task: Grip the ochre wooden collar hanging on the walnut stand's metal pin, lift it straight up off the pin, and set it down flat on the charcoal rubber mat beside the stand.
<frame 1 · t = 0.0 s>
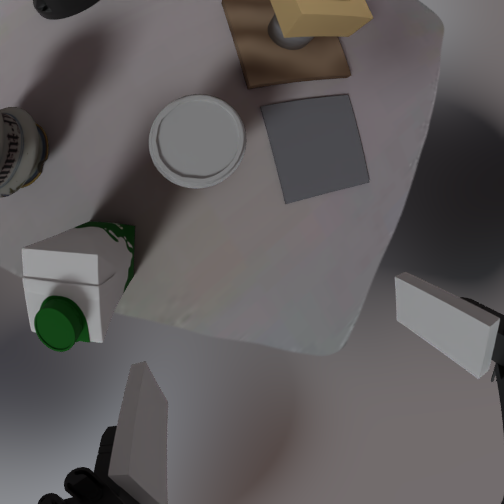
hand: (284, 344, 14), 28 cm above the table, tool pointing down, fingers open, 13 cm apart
mat: (318, 145, 40), on the table
collar: (307, 8, 27), point 9 cm above the table, touching stand
stand: (285, 36, 35), on the table
milk carton: (111, 249, 38), on the table
disposable coffee cup: (195, 151, 37), on the table
apothecary jar: (23, 154, 32), on the table
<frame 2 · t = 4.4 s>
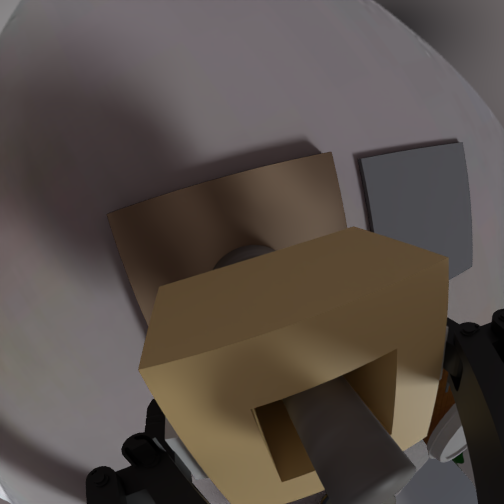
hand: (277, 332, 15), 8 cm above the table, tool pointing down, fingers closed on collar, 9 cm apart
mat: (427, 221, 25), on the table
collar: (283, 342, 14), point 9 cm above the table, touching gripper, stand
stand: (248, 282, 22), on the table
milk carton: (443, 410, 34), on the table
disposable coffee cup: (407, 369, 29), on the table
apothecary jar: (347, 491, 35), on the table
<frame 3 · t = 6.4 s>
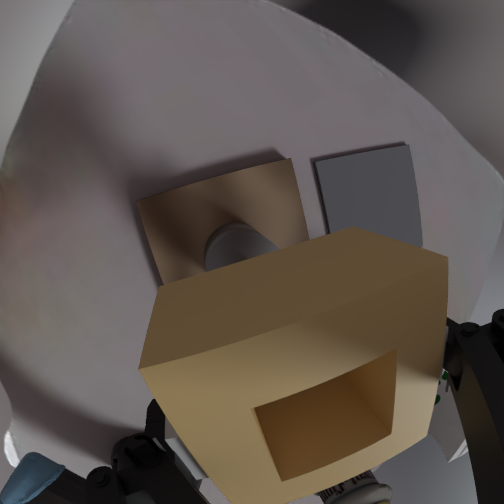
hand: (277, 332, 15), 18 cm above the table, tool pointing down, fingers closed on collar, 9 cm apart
mat: (375, 208, 34), on the table
collar: (283, 342, 14), point 19 cm above the table, touching gripper
stand: (233, 250, 32), on the table
milk carton: (412, 378, 44), on the table
apothecary jar: (328, 452, 44), on the table
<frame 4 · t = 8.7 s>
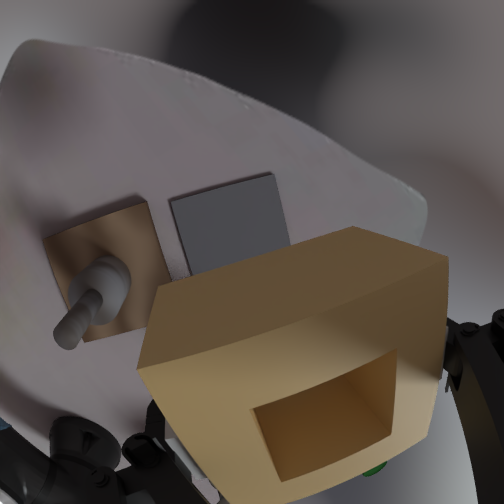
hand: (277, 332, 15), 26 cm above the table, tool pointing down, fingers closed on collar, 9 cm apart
mat: (236, 237, 40), on the table
collar: (283, 342, 14), point 27 cm above the table, touching gripper
stand: (111, 275, 37), on the table
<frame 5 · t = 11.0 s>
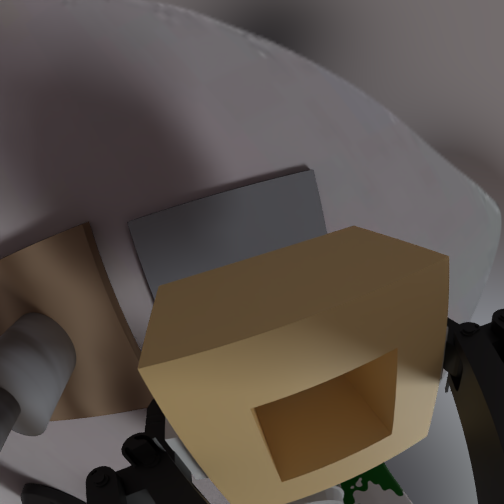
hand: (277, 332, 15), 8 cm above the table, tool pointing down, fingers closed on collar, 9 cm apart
mat: (246, 282, 23), on the table
collar: (283, 341, 14), point 9 cm above the table, touching gripper
stand: (49, 339, 20), on the table
milk carton: (344, 465, 32), on the table
disposable coffee cup: (260, 432, 27), on the table
when the fingers open (2 cm above the table, at t = 13.2 s): collar drops 2 cm, resting on mat.
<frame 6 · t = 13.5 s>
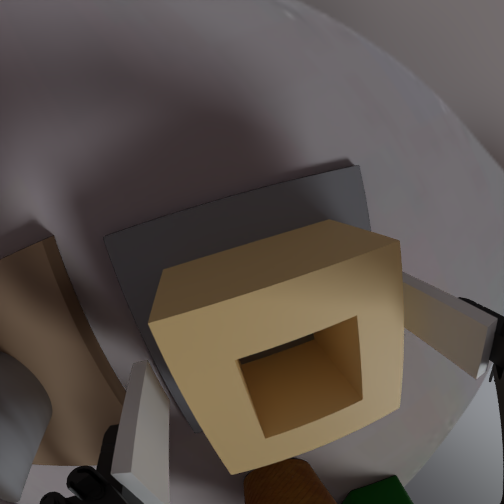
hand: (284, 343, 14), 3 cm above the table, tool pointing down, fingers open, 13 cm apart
mat: (268, 316, 17), on the table
collar: (269, 320, 16), resting on mat
stand: (21, 379, 14), on the table
milk carton: (363, 495, 26), on the table
disposable coffee cup: (276, 475, 21), on the table
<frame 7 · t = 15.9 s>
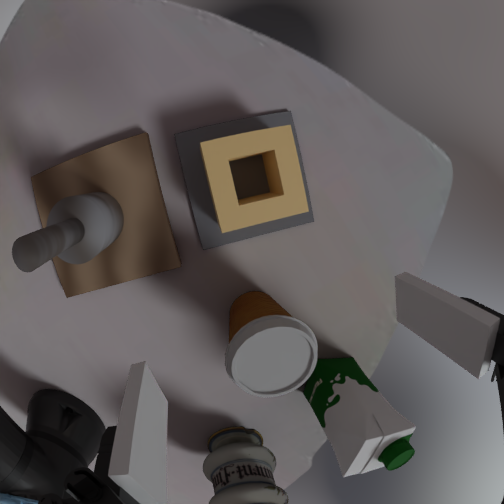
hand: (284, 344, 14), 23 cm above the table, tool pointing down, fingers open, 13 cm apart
mat: (246, 177, 34), on the table
collar: (246, 177, 34), resting on mat
stand: (102, 218, 32), on the table
milk carton: (327, 374, 44), on the table
disposable coffee cup: (253, 312, 39), on the table
apothecary jar: (235, 442, 45), on the table
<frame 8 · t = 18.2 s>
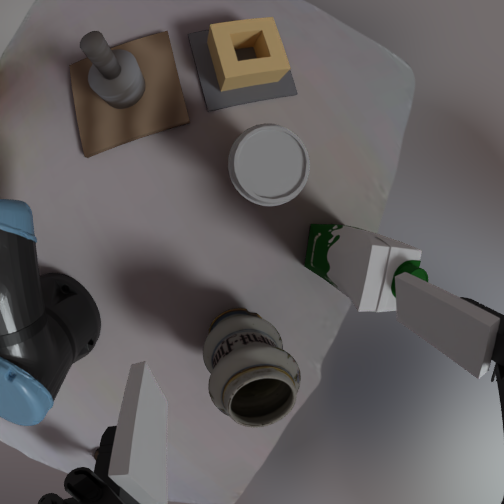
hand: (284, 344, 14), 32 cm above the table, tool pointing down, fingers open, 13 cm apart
mat: (242, 62, 38), on the table
collar: (242, 60, 38), resting on mat
stand: (126, 91, 36), on the table
milk carton: (326, 246, 48), on the table
disposable coffee cup: (251, 168, 43), on the table
apothecary jar: (237, 334, 48), on the table
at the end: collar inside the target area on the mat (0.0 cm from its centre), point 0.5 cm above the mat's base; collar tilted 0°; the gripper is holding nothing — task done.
